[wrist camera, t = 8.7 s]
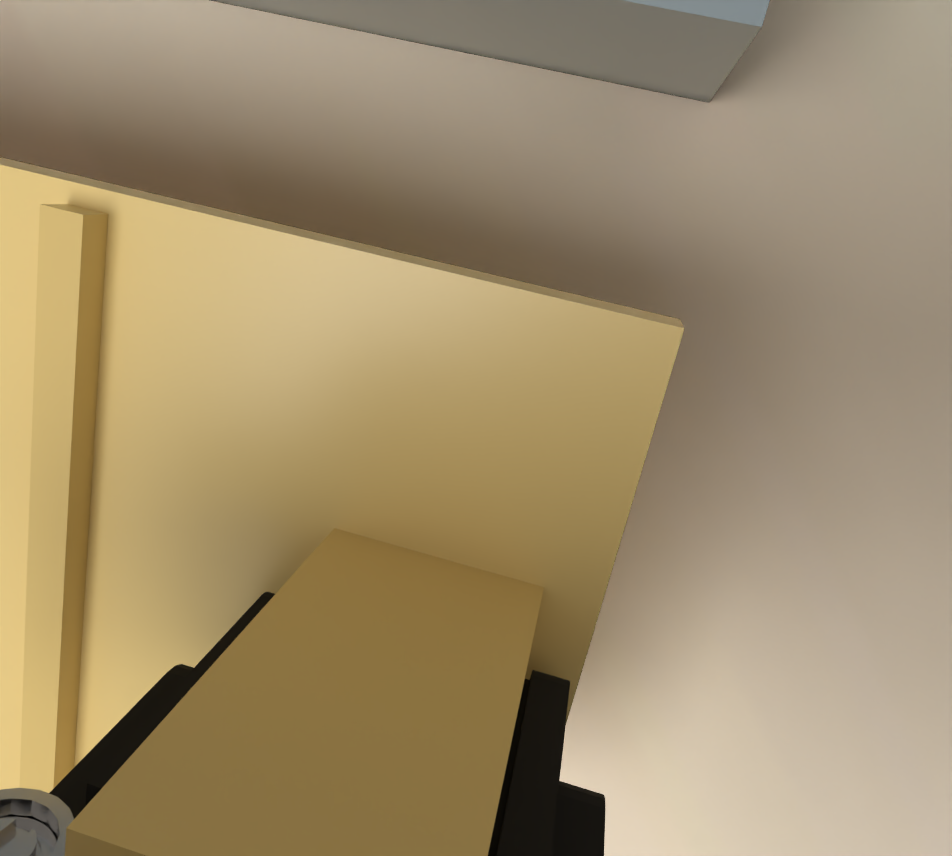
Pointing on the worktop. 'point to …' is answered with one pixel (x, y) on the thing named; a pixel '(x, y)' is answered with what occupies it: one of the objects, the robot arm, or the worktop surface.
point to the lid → (294, 518)
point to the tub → (565, 34)
